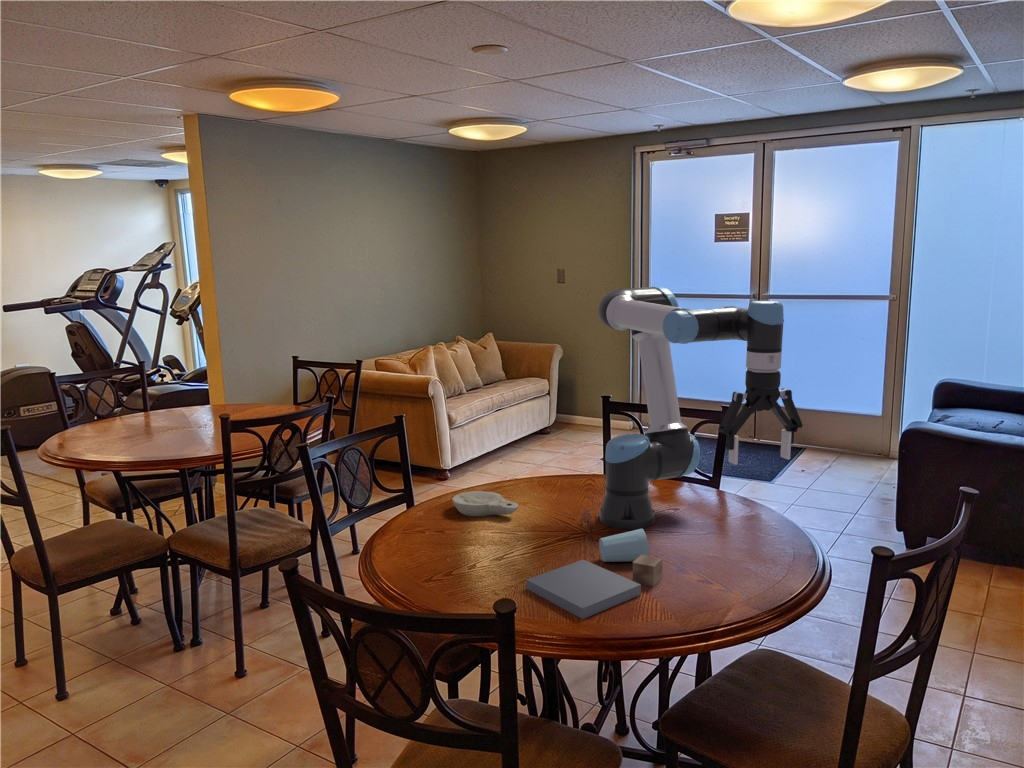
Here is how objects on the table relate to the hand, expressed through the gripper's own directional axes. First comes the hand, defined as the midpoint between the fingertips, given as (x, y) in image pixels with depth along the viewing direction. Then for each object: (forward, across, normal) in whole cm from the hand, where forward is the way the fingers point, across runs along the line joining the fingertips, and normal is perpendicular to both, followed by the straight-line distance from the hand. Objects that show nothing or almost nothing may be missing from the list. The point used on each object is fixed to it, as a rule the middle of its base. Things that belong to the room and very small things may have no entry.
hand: (759, 460), depth 171 cm
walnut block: (+25, -29, -3) cm, 38 cm away
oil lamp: (+26, -54, +52) cm, 79 cm away
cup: (+26, -34, +9) cm, 43 cm away
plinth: (+25, -45, -4) cm, 51 cm away
